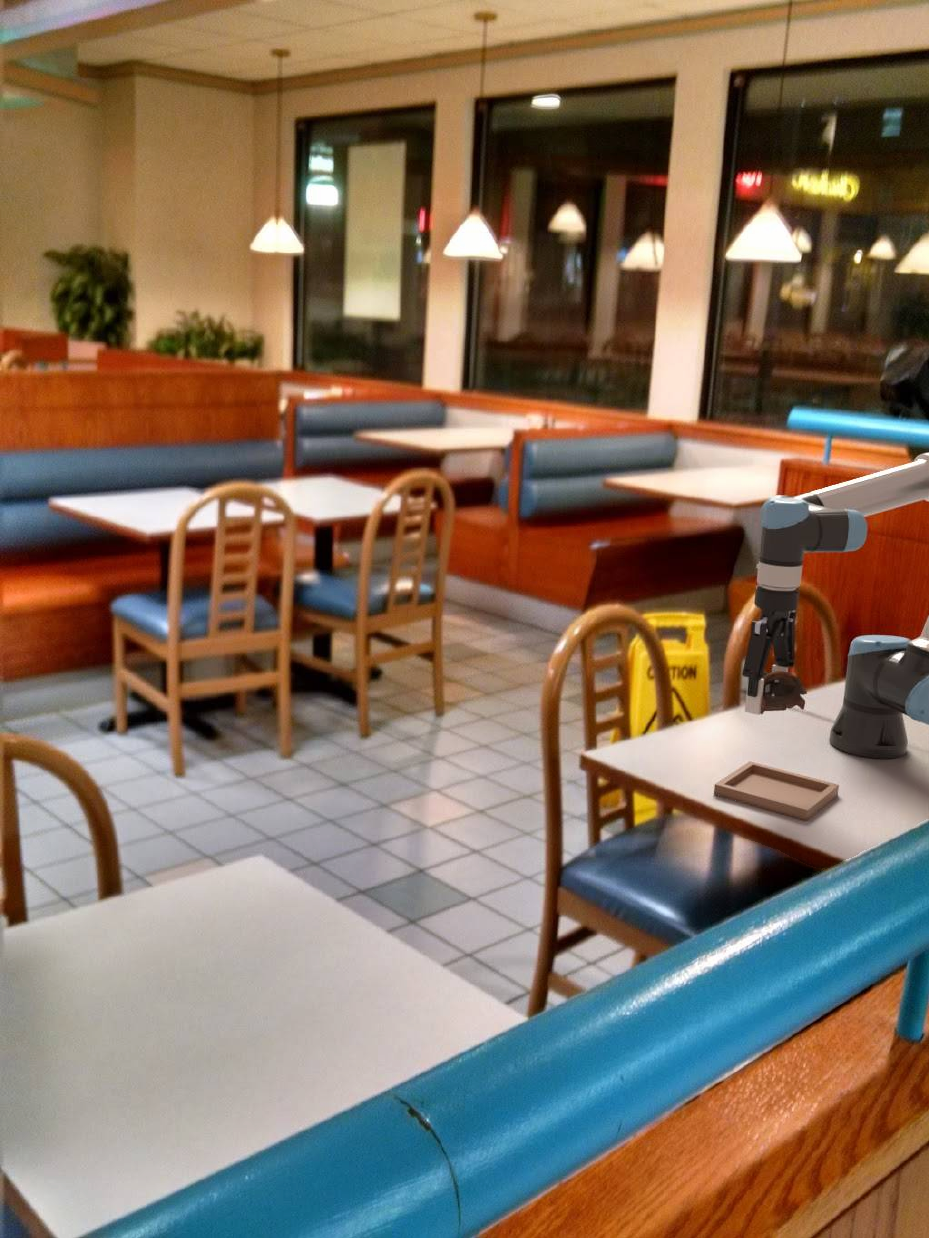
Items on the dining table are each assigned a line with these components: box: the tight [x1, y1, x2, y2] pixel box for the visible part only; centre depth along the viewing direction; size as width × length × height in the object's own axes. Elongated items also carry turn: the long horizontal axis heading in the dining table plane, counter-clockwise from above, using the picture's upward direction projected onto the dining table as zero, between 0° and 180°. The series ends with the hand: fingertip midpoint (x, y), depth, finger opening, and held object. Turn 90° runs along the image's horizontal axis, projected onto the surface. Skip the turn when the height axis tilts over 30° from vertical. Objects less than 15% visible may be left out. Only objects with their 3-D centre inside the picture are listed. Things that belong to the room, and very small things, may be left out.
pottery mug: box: [759, 670, 808, 715], centre depth 219 cm, size 12×10×8 cm
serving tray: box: [713, 760, 840, 822], centre depth 220 cm, size 15×17×2 cm
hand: (764, 706), depth 220 cm, fingers closed on pottery mug, 9 cm apart
